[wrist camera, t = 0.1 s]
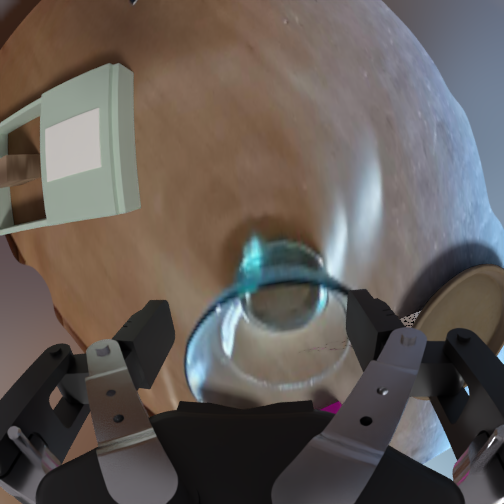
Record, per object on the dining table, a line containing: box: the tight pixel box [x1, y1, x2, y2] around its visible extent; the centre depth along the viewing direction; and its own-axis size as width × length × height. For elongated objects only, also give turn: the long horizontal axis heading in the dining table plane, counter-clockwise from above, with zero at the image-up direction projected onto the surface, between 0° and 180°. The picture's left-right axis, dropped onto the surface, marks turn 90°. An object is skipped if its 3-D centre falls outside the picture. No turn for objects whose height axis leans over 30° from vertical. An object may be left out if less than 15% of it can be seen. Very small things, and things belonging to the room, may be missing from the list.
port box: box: [0, 63, 141, 235], centre depth 34 cm, size 22×34×6 cm, turn 94°
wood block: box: [0, 154, 41, 188], centre depth 34 cm, size 4×7×9 cm, turn 94°
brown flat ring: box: [411, 264, 504, 400], centre depth 40 cm, size 31×31×5 cm
